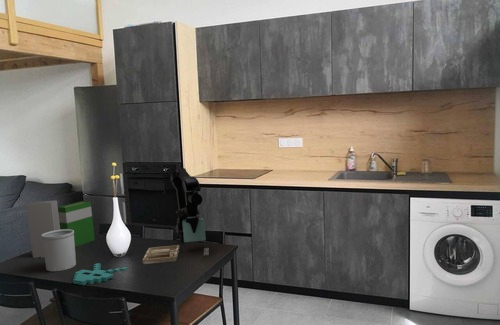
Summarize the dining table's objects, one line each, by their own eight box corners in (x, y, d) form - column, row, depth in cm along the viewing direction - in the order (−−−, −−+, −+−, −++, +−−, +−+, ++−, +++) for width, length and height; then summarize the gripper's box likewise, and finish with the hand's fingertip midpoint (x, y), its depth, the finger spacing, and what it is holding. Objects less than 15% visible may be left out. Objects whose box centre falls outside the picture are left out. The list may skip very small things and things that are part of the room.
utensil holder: (64, 260, 221) (60, 227, 219) (84, 263, 214) (80, 229, 212) (38, 270, 208) (34, 235, 206) (58, 273, 201) (54, 237, 199)
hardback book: (86, 239, 262) (82, 201, 259) (94, 240, 258) (90, 201, 255) (61, 247, 246) (56, 207, 244) (69, 248, 243) (65, 207, 240)
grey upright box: (63, 253, 234) (56, 200, 230) (57, 256, 228) (51, 202, 225) (39, 254, 235) (32, 201, 232) (33, 257, 230) (26, 203, 227)
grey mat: (184, 250, 223) (184, 250, 223) (208, 248, 224) (208, 247, 224) (182, 257, 212) (182, 256, 212) (208, 255, 213) (208, 254, 213)
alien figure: (97, 267, 207) (63, 282, 190) (97, 263, 207) (62, 277, 189) (128, 271, 198) (94, 288, 180) (127, 267, 198) (93, 283, 180)
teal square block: (184, 240, 218) (182, 219, 217) (205, 238, 219) (204, 218, 218) (184, 242, 215) (182, 221, 214) (205, 240, 216) (203, 219, 215)
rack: (149, 253, 223) (148, 247, 223) (179, 250, 224) (179, 245, 224) (142, 266, 203) (142, 260, 203) (176, 262, 204) (175, 257, 204)
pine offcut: (153, 253, 210) (153, 250, 209) (169, 251, 210) (169, 248, 209) (152, 255, 206) (151, 252, 205) (168, 254, 206) (168, 251, 205)
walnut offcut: (149, 256, 209) (149, 253, 209) (169, 254, 211) (169, 251, 210) (148, 259, 205) (148, 256, 205) (169, 256, 206) (169, 254, 206)
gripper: (177, 200, 224) (180, 228, 225) (174, 207, 205) (176, 238, 207) (198, 198, 225) (200, 227, 226) (197, 205, 206) (199, 236, 208)
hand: (194, 232), depth 217 cm, fingers closed on teal square block, 3 cm apart
